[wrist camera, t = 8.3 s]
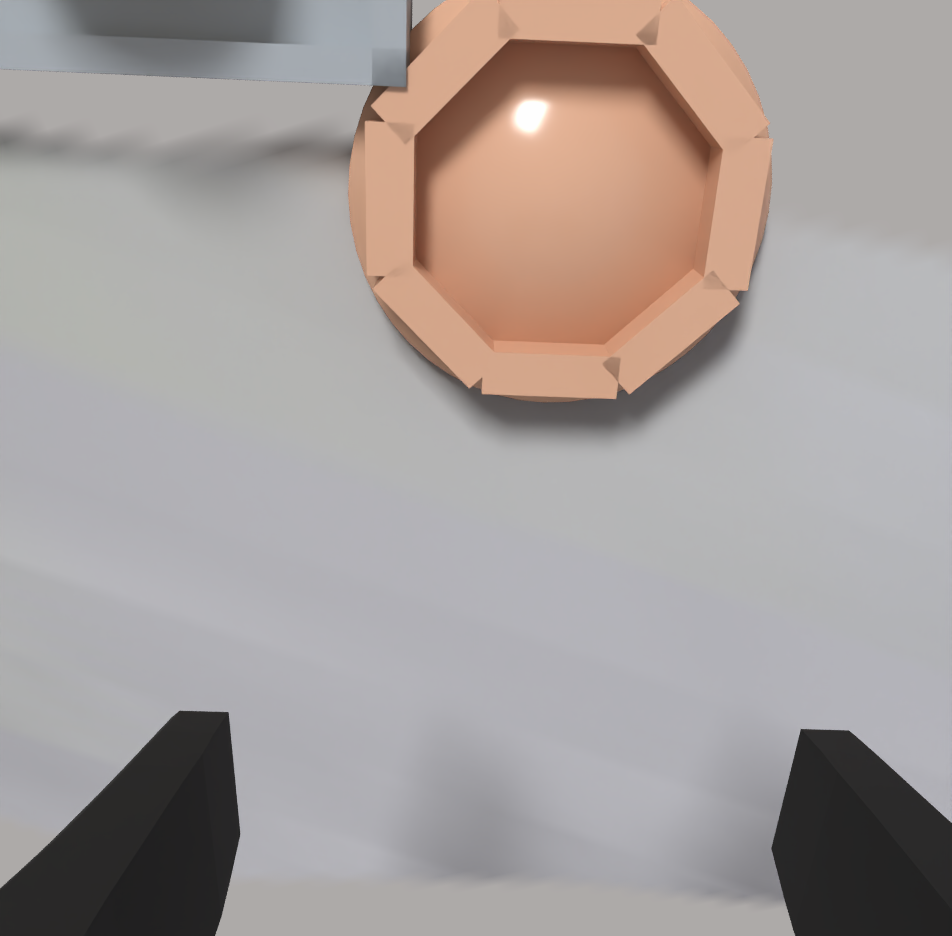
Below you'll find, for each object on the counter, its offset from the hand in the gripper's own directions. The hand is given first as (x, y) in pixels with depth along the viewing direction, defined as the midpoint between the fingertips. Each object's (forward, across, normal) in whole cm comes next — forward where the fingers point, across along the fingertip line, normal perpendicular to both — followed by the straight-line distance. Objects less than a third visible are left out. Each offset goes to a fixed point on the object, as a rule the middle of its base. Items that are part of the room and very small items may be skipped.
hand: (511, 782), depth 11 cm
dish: (+10, -1, -6) cm, 12 cm away
